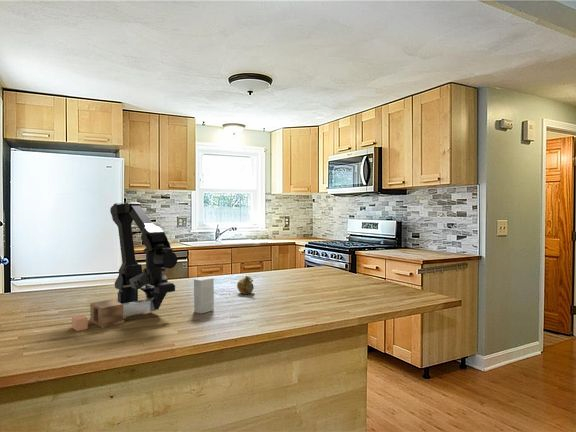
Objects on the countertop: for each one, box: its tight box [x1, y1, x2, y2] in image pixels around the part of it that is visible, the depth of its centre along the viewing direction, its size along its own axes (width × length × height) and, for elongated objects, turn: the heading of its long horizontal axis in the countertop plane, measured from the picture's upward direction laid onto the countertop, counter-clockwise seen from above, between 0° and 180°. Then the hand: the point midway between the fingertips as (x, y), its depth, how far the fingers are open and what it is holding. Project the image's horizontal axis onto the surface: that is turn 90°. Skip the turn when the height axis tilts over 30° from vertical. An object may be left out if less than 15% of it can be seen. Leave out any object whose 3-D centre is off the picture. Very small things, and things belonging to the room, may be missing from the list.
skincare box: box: [193, 276, 215, 314], centre depth 147 cm, size 6×4×12 cm
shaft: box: [123, 297, 156, 317], centre depth 138 cm, size 18×3×4 cm, turn 137°
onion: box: [236, 275, 255, 295], centre depth 177 cm, size 8×8×8 cm
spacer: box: [71, 314, 88, 332], centre depth 126 cm, size 4×4×3 cm
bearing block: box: [89, 299, 125, 329], centre depth 132 cm, size 7×10×6 cm
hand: (154, 308), depth 145 cm, fingers closed on shaft, 3 cm apart
